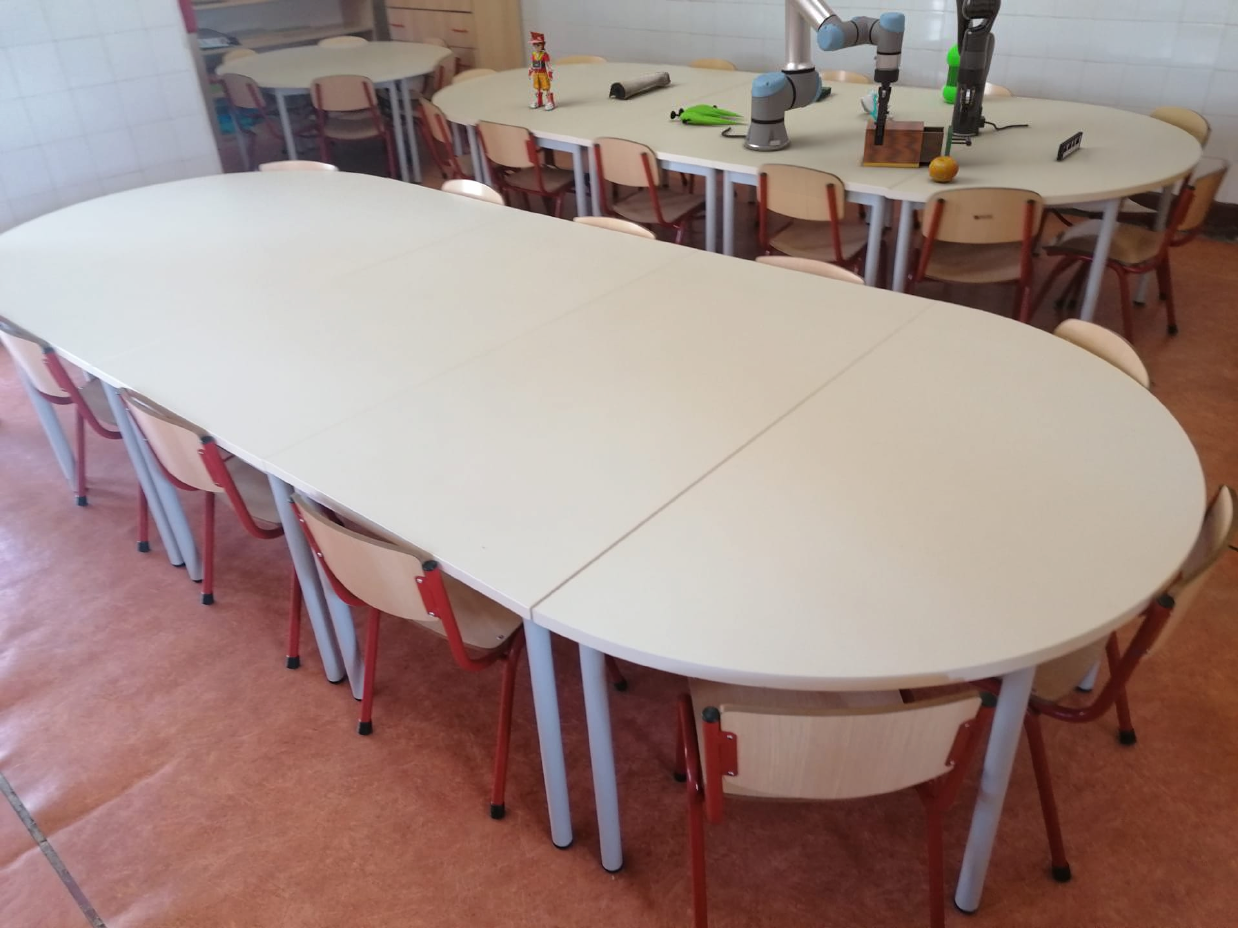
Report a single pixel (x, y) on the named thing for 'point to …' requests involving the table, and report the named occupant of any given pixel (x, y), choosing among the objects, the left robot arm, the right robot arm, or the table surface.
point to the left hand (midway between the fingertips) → (879, 140)
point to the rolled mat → (638, 84)
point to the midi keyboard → (1069, 145)
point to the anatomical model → (872, 105)
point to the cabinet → (894, 144)
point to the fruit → (943, 169)
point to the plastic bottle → (952, 75)
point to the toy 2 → (704, 115)
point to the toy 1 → (541, 71)
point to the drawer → (938, 142)
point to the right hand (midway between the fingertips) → (962, 124)
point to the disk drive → (824, 92)
